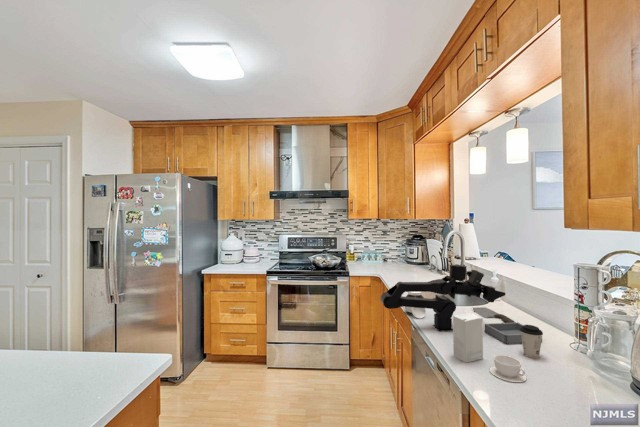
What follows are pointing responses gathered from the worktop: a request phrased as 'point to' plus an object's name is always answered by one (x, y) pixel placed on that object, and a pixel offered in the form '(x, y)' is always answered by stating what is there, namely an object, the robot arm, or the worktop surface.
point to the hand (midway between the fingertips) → (498, 291)
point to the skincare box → (468, 337)
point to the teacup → (508, 369)
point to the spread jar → (413, 310)
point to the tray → (505, 332)
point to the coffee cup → (531, 340)
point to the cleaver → (492, 314)
